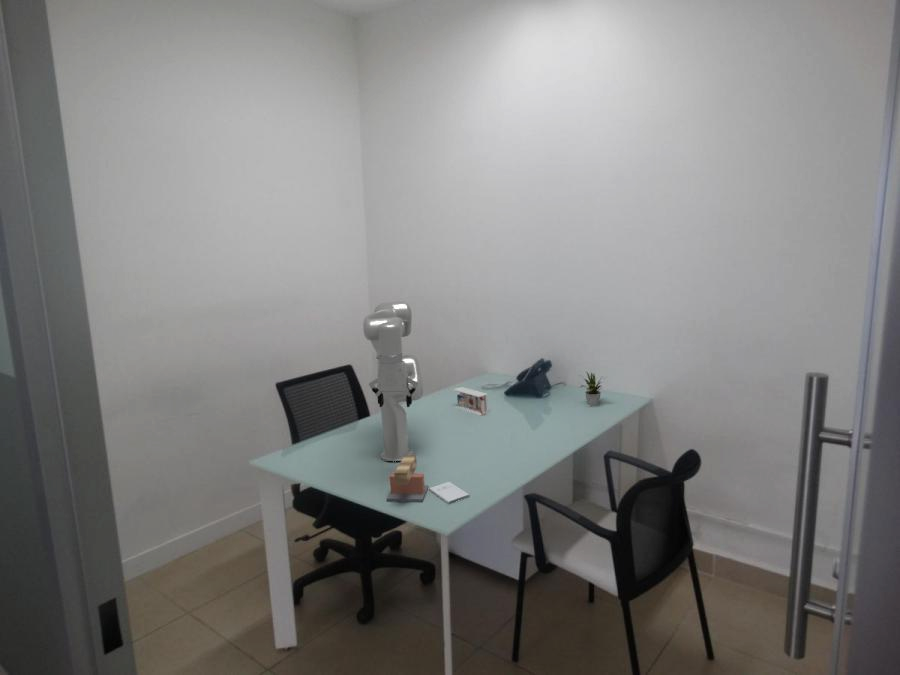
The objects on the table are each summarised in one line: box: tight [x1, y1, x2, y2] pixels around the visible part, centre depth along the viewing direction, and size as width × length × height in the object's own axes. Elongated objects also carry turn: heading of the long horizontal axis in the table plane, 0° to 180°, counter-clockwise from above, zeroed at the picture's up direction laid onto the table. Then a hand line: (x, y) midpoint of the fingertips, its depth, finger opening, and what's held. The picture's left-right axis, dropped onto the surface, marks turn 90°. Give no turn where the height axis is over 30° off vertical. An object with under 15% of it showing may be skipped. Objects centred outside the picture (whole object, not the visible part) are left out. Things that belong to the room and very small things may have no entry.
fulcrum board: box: [386, 472, 430, 503], centre depth 189 cm, size 10×12×7 cm
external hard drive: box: [428, 481, 471, 505], centre depth 188 cm, size 2×8×12 cm
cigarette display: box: [452, 386, 489, 416], centre depth 272 cm, size 20×6×9 cm, turn 40°
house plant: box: [579, 371, 608, 407], centre depth 270 cm, size 14×14×16 cm
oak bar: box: [393, 454, 418, 485], centre depth 188 cm, size 14×4×4 cm, turn 171°
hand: (395, 405), depth 197 cm, fingers open, 9 cm apart
